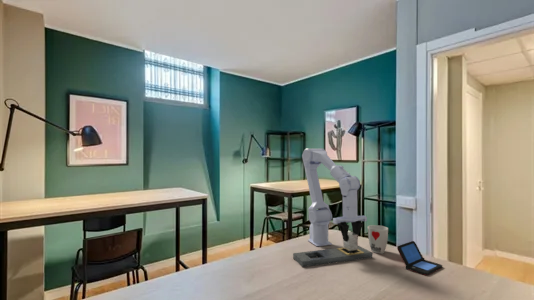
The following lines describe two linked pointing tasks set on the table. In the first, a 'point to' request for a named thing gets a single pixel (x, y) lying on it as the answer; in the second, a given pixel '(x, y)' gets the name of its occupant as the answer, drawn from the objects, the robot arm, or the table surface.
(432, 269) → the handheld game console
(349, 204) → the robot arm
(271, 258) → the table surface
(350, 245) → the steel block
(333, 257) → the grey slotted board
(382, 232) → the cup
